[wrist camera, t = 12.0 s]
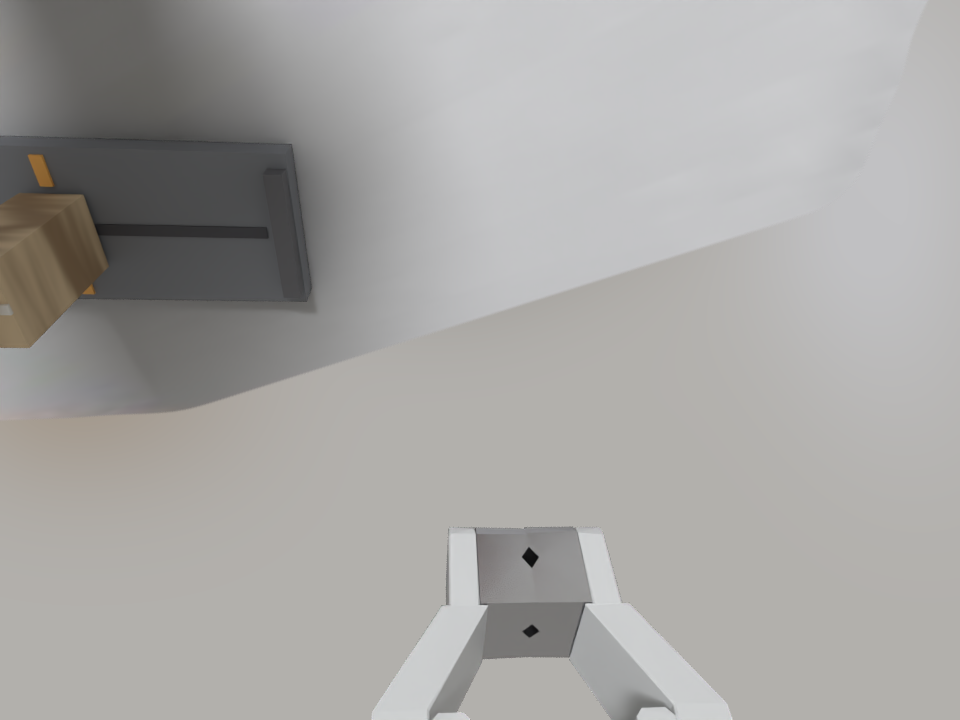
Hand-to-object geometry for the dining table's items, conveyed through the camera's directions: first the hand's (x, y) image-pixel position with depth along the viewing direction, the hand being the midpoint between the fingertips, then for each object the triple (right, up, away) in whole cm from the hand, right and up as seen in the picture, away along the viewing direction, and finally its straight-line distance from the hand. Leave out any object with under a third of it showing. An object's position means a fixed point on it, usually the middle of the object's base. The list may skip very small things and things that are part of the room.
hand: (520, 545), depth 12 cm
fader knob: (-29, +12, +28) cm, 42 cm away
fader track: (-26, +14, +31) cm, 43 cm away
